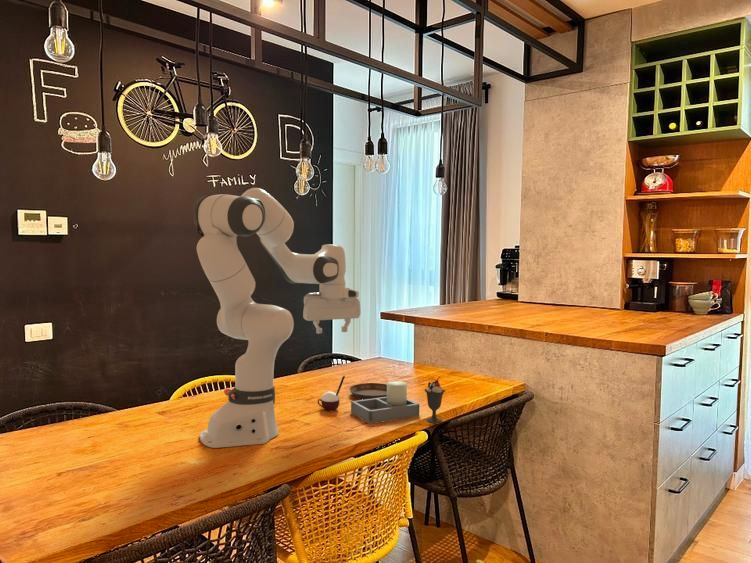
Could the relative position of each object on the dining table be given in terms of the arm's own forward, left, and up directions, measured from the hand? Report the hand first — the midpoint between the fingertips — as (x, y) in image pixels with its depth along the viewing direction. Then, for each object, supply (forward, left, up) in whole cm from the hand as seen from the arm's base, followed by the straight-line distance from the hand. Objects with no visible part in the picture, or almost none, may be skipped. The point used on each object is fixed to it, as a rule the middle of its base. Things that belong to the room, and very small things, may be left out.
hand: (331, 332), depth 191 cm
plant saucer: (+22, +10, -27) cm, 36 cm away
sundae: (+25, -26, -27) cm, 45 cm away
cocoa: (0, 0, -27) cm, 27 cm away
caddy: (+14, -13, -27) cm, 33 cm away
